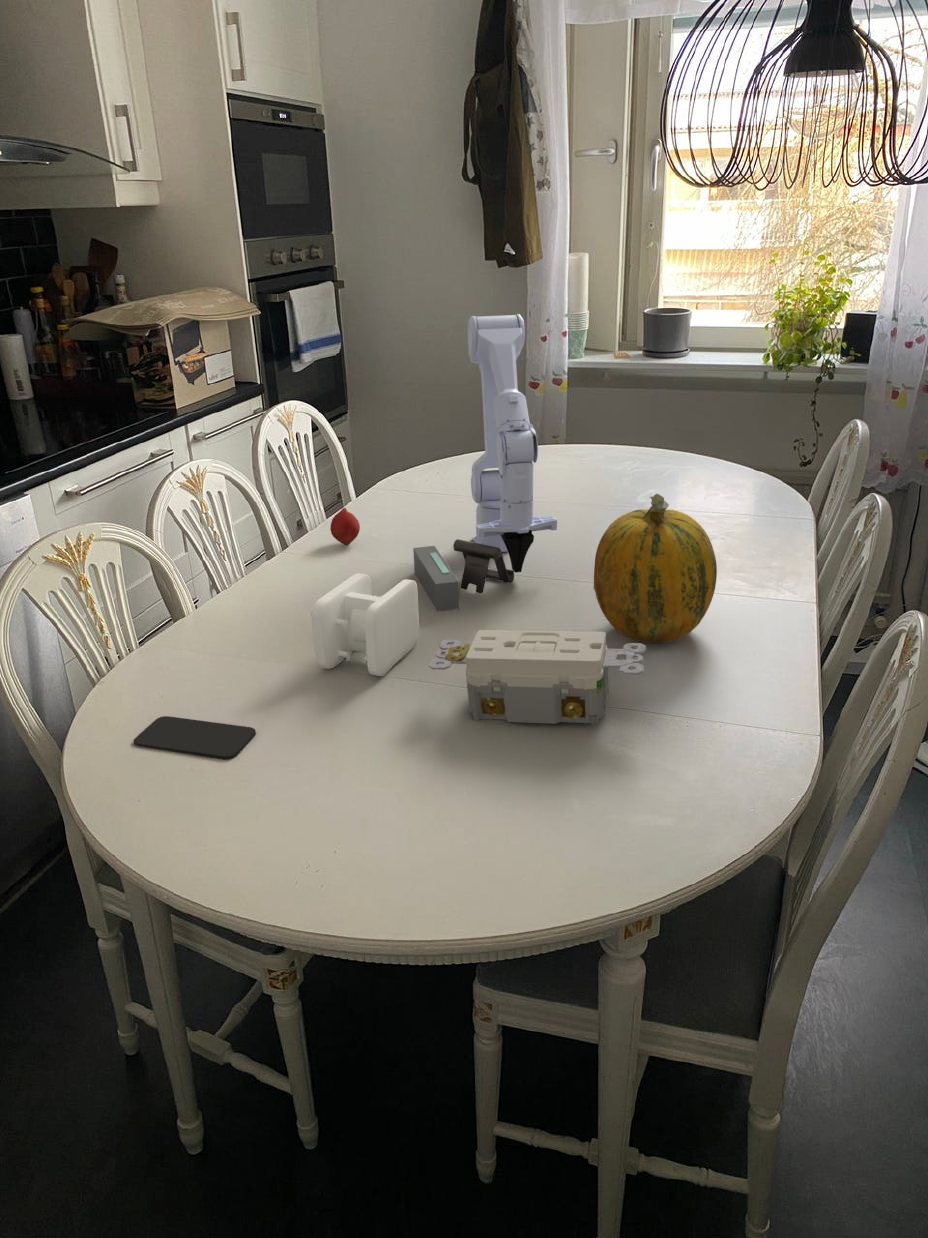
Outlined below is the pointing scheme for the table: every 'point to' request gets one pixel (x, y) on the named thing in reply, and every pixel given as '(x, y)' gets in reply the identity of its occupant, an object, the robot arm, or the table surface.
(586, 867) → the table surface
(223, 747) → the phone
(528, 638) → the electrical outlet
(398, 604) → the cable organizer
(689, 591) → the pumpkin
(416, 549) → the charging dock
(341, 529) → the onion
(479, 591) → the portable electronic device stand
